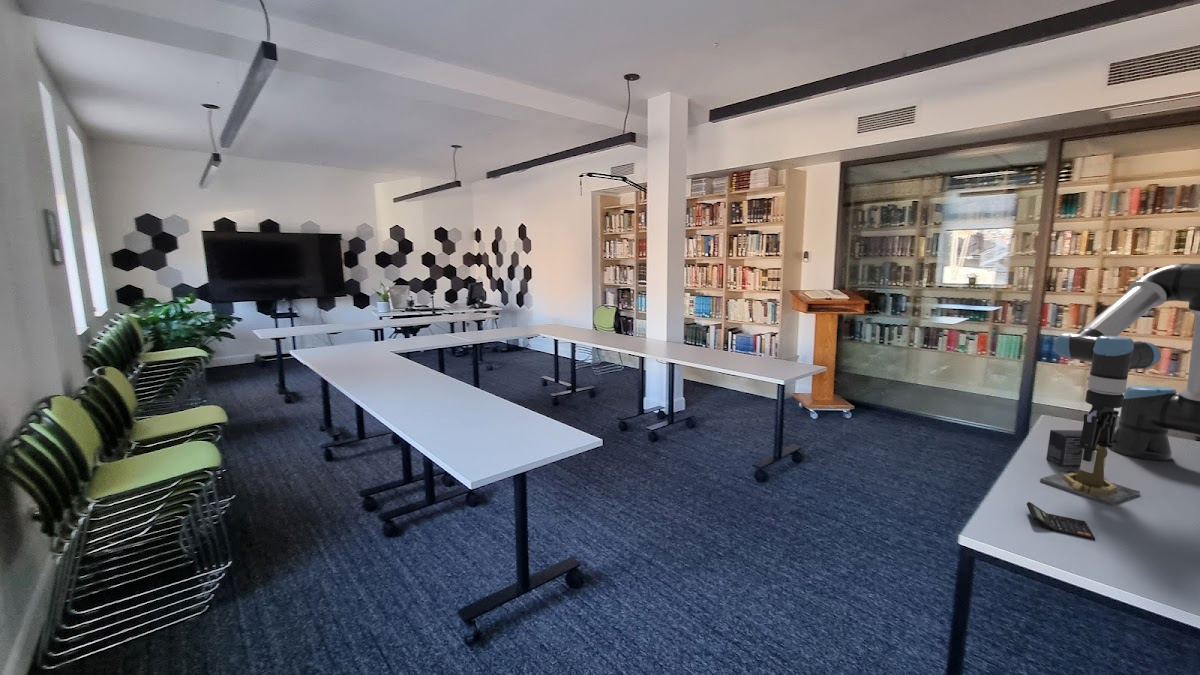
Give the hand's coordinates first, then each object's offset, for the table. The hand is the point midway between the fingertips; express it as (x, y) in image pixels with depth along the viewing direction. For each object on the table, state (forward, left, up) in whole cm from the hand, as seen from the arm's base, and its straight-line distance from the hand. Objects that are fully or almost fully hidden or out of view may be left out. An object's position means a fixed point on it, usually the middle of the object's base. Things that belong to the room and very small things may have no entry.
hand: (1091, 469), depth 148 cm
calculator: (+33, +8, -6) cm, 35 cm away
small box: (-17, -12, -6) cm, 22 cm away
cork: (0, 0, -4) cm, 4 cm away
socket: (0, 0, -6) cm, 6 cm away
